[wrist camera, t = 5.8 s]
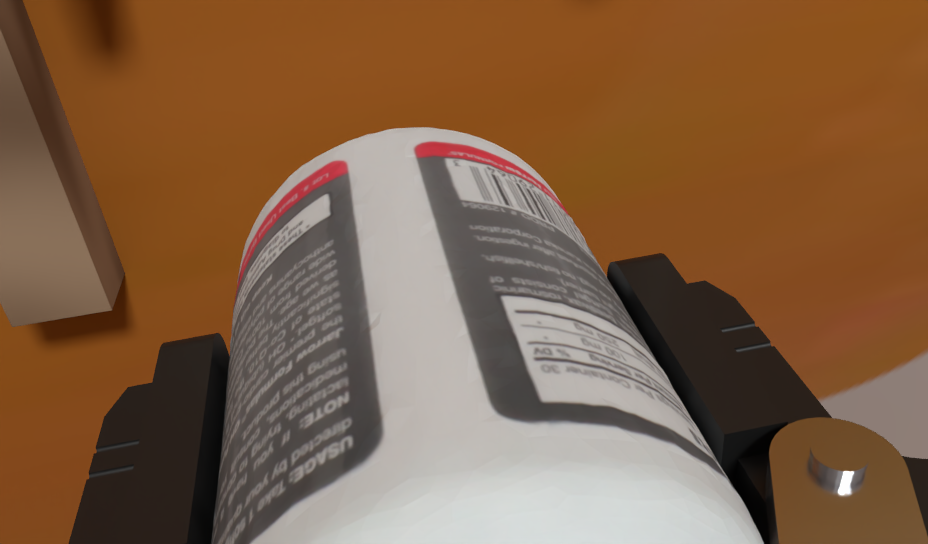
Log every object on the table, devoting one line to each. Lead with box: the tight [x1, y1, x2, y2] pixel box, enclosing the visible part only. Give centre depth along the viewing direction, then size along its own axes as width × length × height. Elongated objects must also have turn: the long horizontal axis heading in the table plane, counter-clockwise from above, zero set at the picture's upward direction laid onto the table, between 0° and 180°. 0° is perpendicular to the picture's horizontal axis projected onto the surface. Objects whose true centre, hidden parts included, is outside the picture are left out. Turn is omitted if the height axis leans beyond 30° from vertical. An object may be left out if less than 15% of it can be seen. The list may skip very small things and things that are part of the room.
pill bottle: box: [211, 127, 764, 544], centre depth 9 cm, size 5×5×10 cm
